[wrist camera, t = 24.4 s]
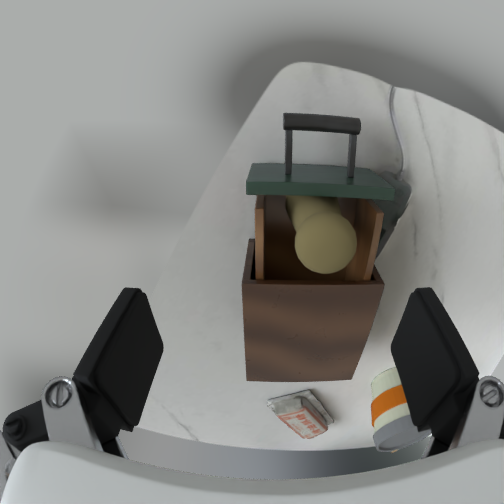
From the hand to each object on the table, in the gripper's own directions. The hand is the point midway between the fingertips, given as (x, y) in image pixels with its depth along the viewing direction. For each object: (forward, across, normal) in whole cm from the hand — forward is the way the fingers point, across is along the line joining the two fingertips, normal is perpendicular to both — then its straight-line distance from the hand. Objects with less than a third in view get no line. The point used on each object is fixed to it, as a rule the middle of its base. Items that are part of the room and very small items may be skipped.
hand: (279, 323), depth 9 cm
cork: (+23, -4, +4) cm, 24 cm away
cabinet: (+24, -4, +18) cm, 31 cm away
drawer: (+24, -4, +5) cm, 25 cm away
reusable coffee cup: (+24, -25, +43) cm, 55 cm away
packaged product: (+24, -7, +53) cm, 59 cm away
